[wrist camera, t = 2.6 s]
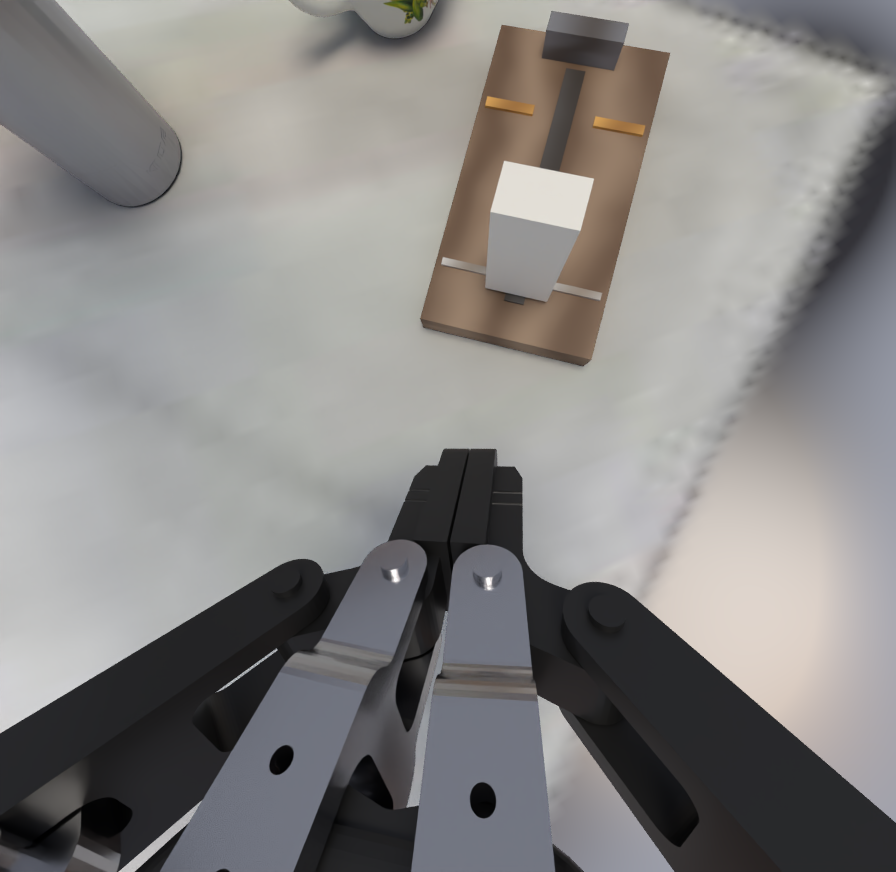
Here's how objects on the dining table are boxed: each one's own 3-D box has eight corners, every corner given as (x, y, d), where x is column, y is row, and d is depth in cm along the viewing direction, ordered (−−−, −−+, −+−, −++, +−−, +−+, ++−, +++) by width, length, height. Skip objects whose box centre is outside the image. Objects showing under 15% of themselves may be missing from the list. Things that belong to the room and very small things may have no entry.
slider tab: (485, 287, 29) (490, 211, 20) (494, 252, 29) (504, 160, 20) (546, 302, 28) (580, 230, 20) (556, 265, 29) (594, 178, 20)
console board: (423, 327, 32) (416, 308, 28) (500, 51, 32) (503, -6, 29) (583, 366, 30) (600, 352, 26) (657, 78, 31) (684, 23, 27)
